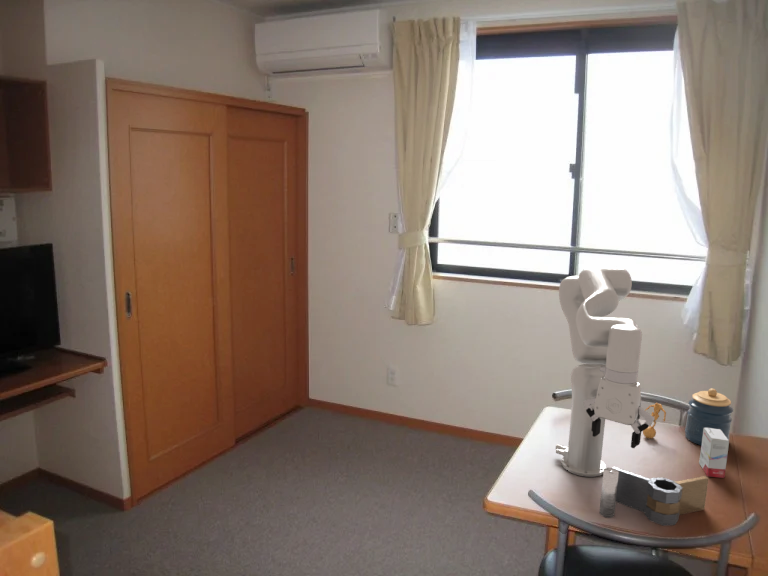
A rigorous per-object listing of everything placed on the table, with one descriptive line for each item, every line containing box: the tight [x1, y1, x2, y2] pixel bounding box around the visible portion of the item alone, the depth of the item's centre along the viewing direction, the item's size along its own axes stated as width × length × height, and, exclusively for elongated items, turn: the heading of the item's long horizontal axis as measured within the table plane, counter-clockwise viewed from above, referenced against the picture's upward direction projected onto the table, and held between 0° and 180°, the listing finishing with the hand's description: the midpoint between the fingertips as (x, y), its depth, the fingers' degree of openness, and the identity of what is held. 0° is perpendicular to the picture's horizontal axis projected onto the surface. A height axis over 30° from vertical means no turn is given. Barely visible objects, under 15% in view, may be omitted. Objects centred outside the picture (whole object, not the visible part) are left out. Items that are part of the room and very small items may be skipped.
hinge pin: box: [599, 467, 619, 518], centre depth 162 cm, size 4×4×12 cm
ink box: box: [698, 428, 730, 479], centre depth 186 cm, size 9×5×12 cm, turn 168°
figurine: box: [642, 402, 667, 440], centre depth 207 cm, size 8×6×12 cm
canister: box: [684, 387, 734, 446], centre depth 206 cm, size 13×13×18 cm
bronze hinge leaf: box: [647, 475, 709, 516], centre depth 163 cm, size 17×7×9 cm, turn 109°
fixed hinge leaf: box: [611, 466, 682, 527], centre depth 164 cm, size 17×7×9 cm, turn 50°
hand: (614, 440), depth 158 cm, fingers open, 9 cm apart
